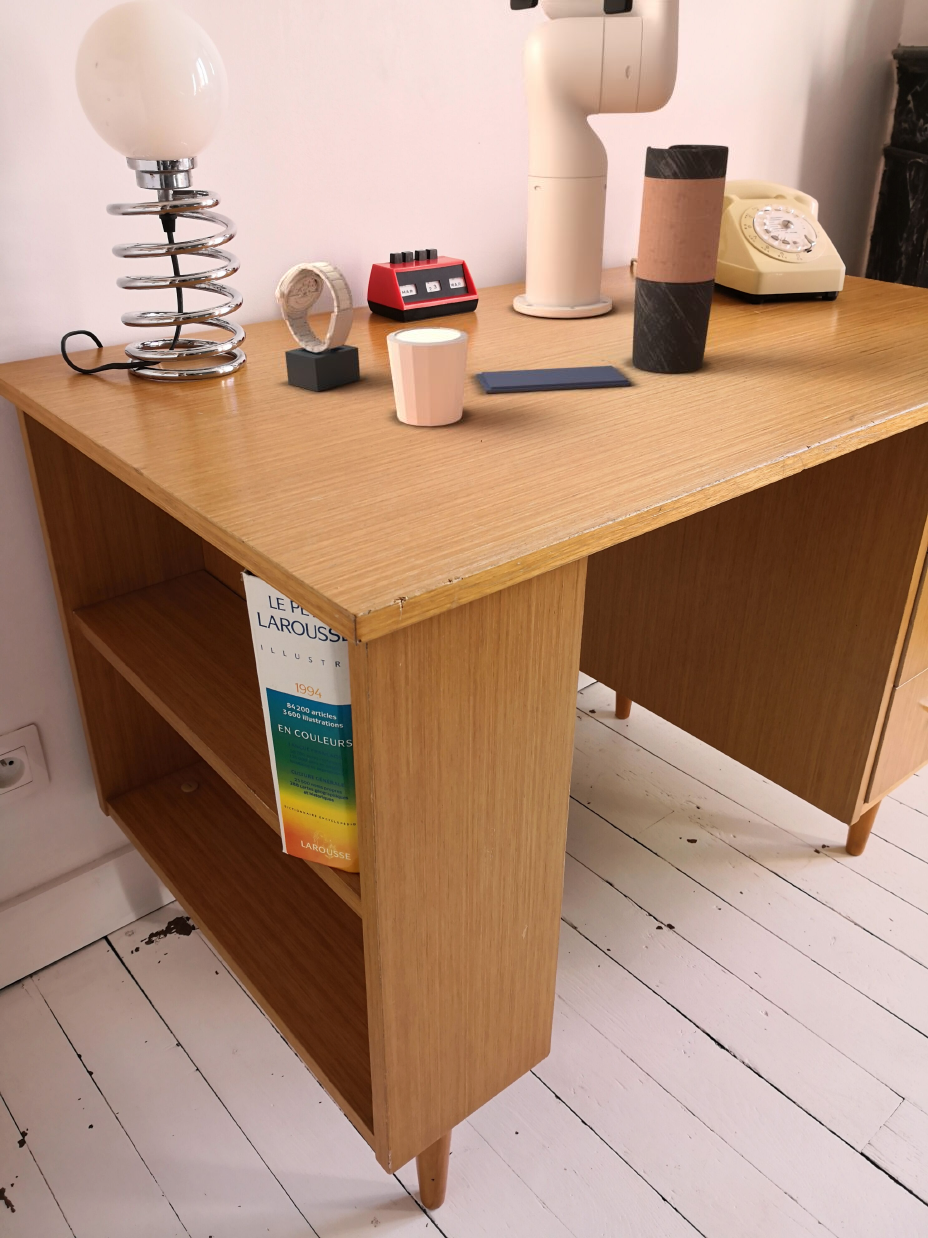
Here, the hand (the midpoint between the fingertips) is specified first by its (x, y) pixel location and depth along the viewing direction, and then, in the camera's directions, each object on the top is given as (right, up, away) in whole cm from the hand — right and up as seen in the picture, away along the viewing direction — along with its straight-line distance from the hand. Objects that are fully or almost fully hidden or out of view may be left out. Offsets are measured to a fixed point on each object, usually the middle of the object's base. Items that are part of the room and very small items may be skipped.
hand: (571, 10), depth 79 cm
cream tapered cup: (-12, -33, +4) cm, 36 cm away
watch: (-23, -28, +14) cm, 39 cm away
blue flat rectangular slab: (-1, -28, +13) cm, 31 cm away
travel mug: (+12, -25, +18) cm, 33 cm away
